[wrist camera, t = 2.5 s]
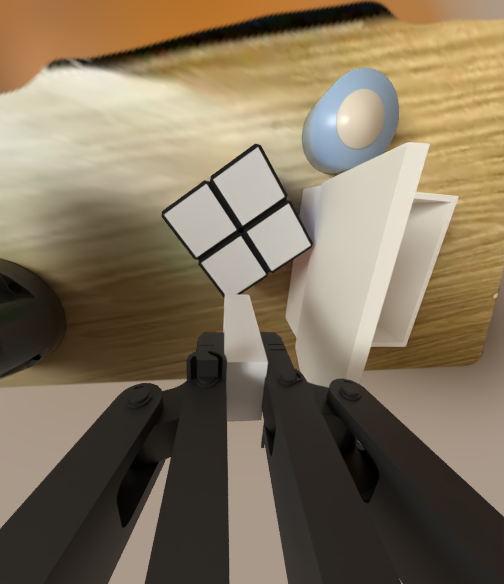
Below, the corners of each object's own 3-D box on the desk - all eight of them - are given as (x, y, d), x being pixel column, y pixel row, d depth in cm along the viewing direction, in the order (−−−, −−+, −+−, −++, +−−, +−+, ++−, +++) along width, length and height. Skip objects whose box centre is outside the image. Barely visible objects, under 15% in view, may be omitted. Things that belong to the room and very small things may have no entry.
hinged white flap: (301, 347, 28) (295, 347, 28) (330, 183, 22) (321, 182, 22) (333, 472, 15) (321, 471, 15) (429, 143, 8) (407, 142, 8)
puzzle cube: (288, 233, 31) (316, 246, 22) (226, 275, 32) (228, 304, 23) (246, 162, 27) (259, 139, 18) (179, 211, 28) (157, 213, 19)
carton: (285, 317, 35) (301, 346, 28) (303, 189, 29) (329, 183, 22) (369, 319, 37) (405, 346, 30) (403, 198, 31) (458, 196, 24)
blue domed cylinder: (297, 170, 28) (314, 162, 23) (307, 90, 26) (329, 59, 20) (357, 176, 29) (387, 170, 24) (373, 100, 27) (411, 73, 21)
